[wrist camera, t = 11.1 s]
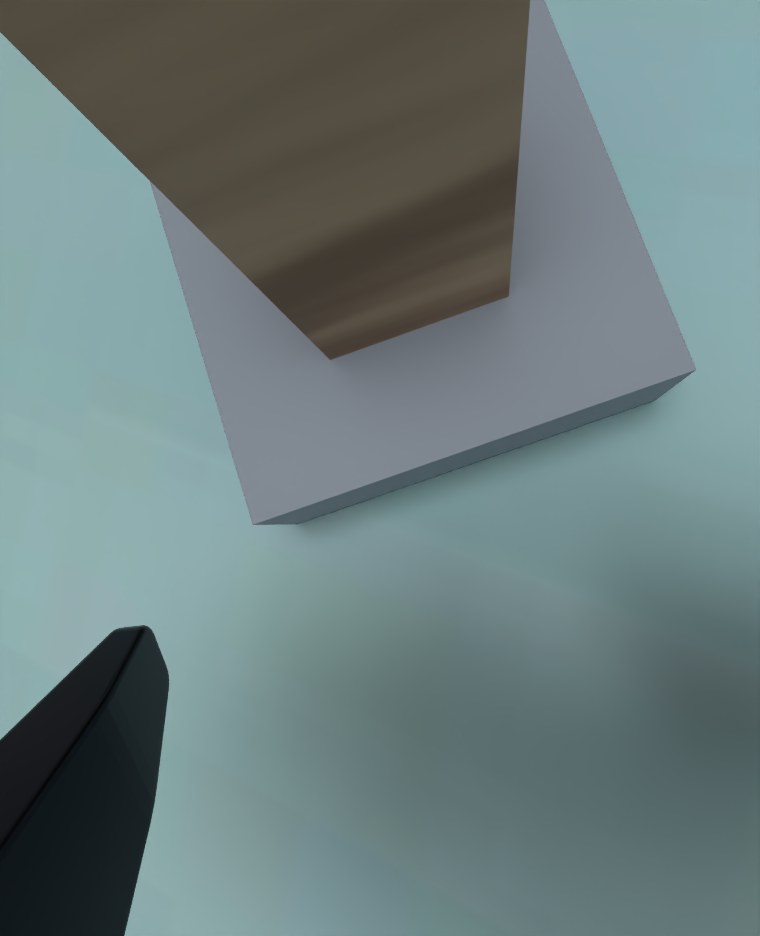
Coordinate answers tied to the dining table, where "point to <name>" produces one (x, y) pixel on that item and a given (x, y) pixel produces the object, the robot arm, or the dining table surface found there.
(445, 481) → the dining table surface
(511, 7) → the walnut pillar
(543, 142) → the grey base block
